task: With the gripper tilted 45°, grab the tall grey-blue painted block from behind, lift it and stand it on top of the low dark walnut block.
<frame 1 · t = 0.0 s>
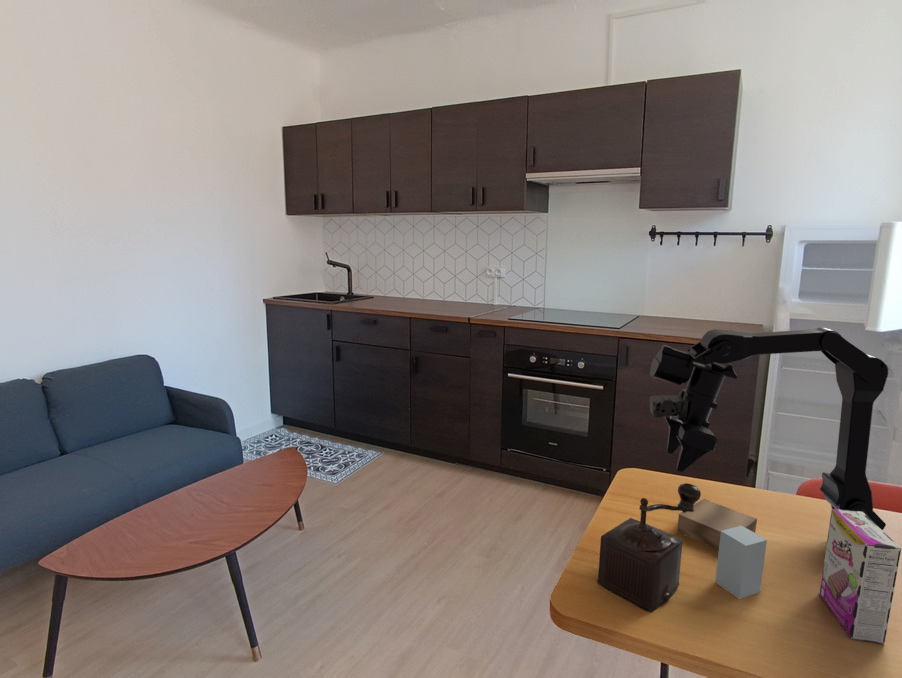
hand: (673, 461, 111), 15 cm above the table, tool pointing down, fingers open, 9 cm apart
walnut block: (715, 534, 113), on the table
manual coffee grinder: (646, 581, 97), on the table
candy bar box: (848, 619, 88), on the table
grey-blue block: (737, 587, 95), on the table
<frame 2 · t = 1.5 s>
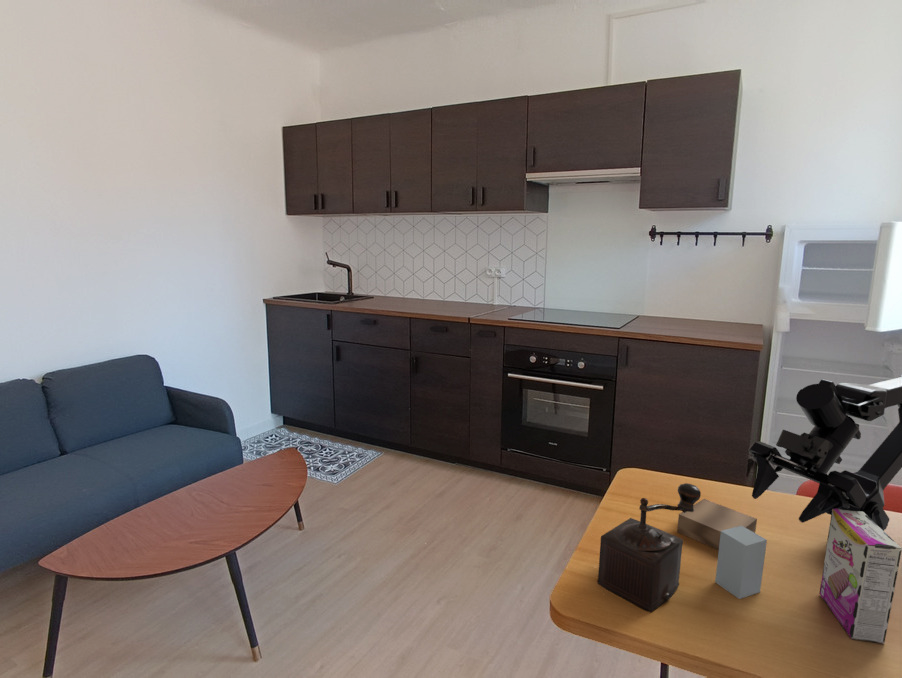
hand: (775, 508, 96), 13 cm above the table, tool tilted 45°, fingers open, 9 cm apart
candy bar box: (848, 619, 88), on the table, touching gripper
everything else where it was.
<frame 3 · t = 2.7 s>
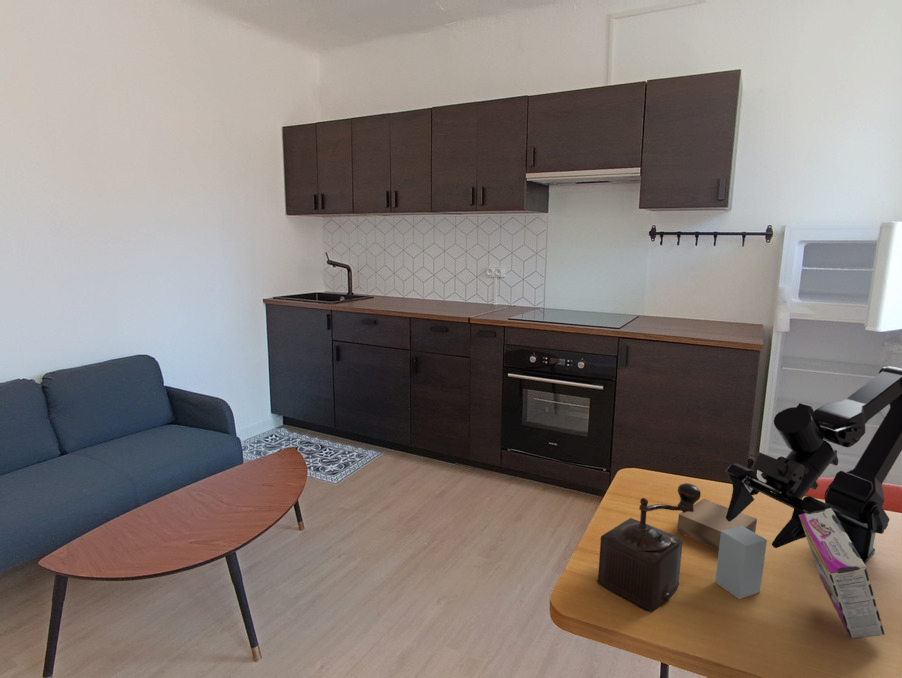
hand: (749, 532, 94), 10 cm above the table, tool tilted 45°, fingers open, 9 cm apart
candy bar box: (850, 606, 87), point 2 cm above the table
everything else where it was.
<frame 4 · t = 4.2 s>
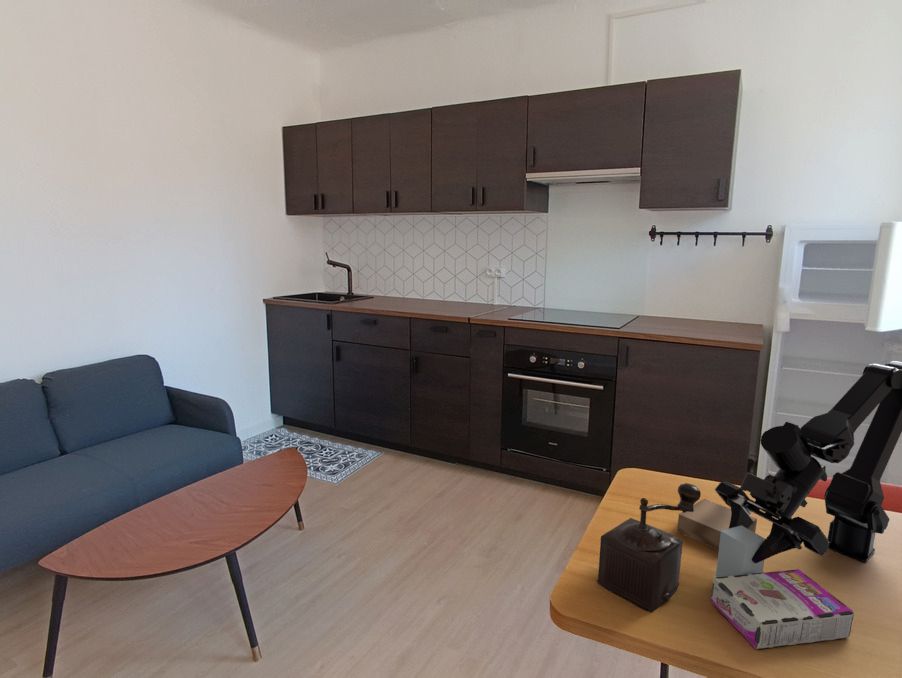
hand: (739, 553, 94), 7 cm above the table, tool tilted 45°, fingers closed on grey-blue block, 5 cm apart
candy bar box: (824, 602, 88), point 2 cm above the table
grey-blue block: (737, 586, 95), on the table, touching gripper
everything else where it was.
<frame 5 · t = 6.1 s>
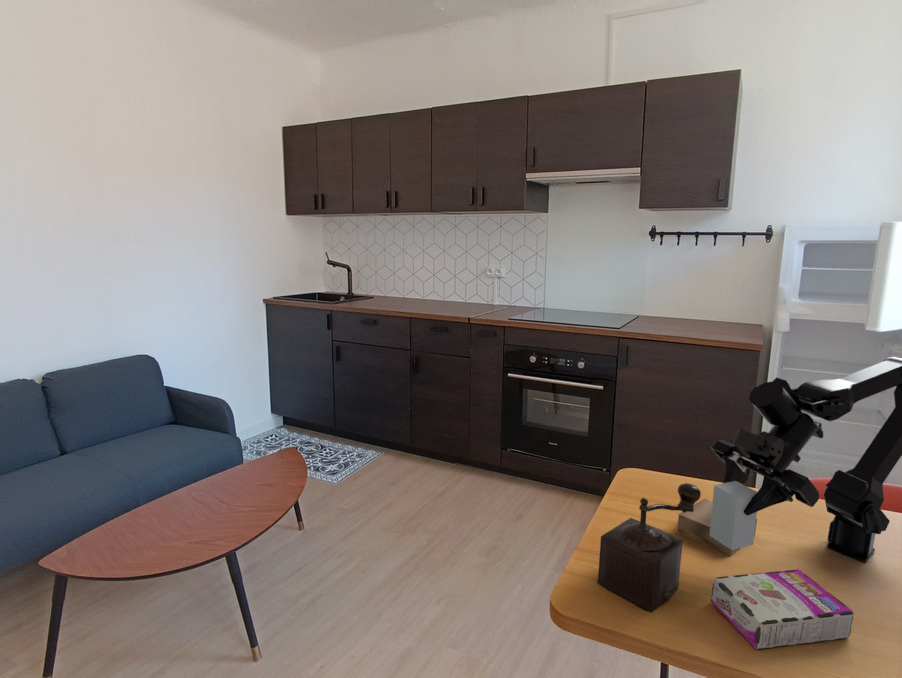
hand: (732, 506, 97), 13 cm above the table, tool tilted 45°, fingers closed on grey-blue block, 5 cm apart
grey-blue block: (730, 539, 98), point 7 cm above the table, touching gripper
everything else where it was.
when the fingers open (11 cm above the table, at t = 8.3 s): grey-blue block stays where it is, resting on walnut block.
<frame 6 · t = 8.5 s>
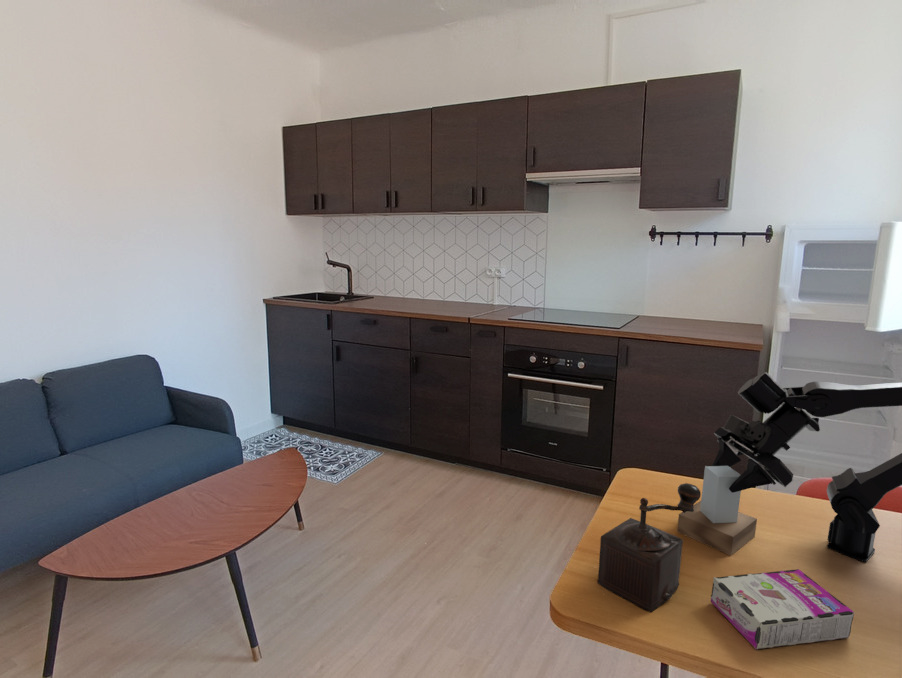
hand: (719, 482, 110), 12 cm above the table, tool tilted 45°, fingers open, 7 cm apart
grey-blue block: (718, 516, 112), point 4 cm above the table, touching walnut block
everything else where it was.
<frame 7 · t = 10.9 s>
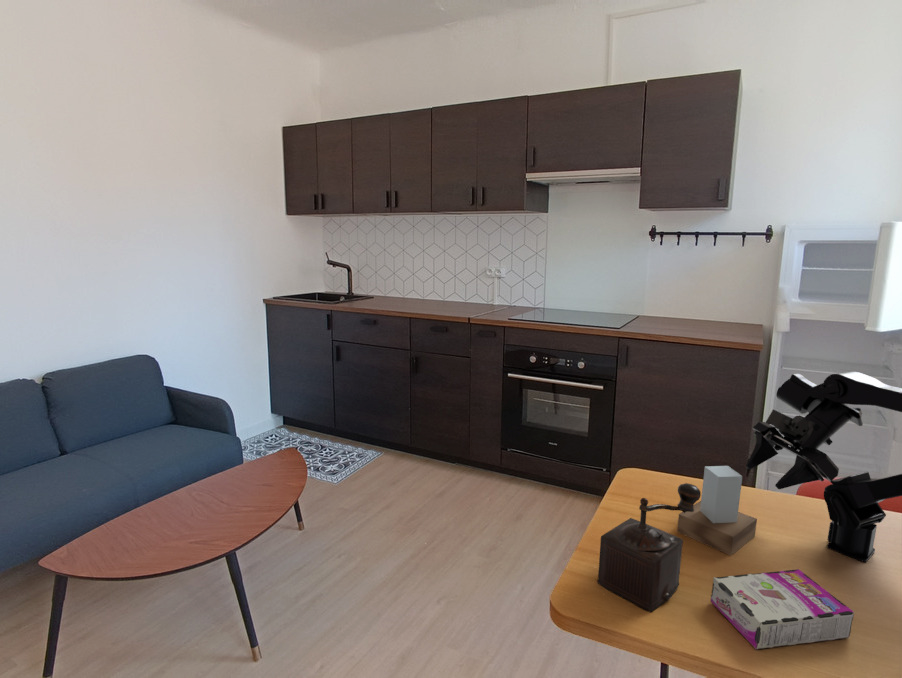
hand: (761, 477, 111), 13 cm above the table, tool tilted 45°, fingers open, 9 cm apart
nothing on the table moved.
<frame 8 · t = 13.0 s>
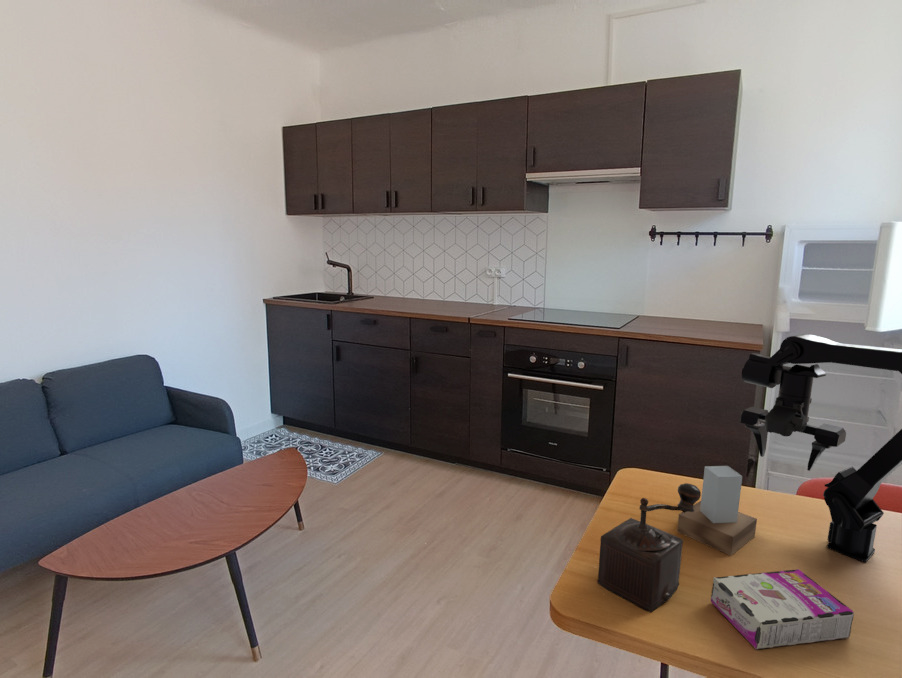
hand: (785, 463, 117), 13 cm above the table, tool pointing down, fingers open, 9 cm apart
nothing on the table moved.
at the end: grey-blue block inside the target area on the walnut block (0.1 cm from its centre), point 4.0 cm above the walnut block's base; grey-blue block tilted 0°; the gripper is holding nothing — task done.
